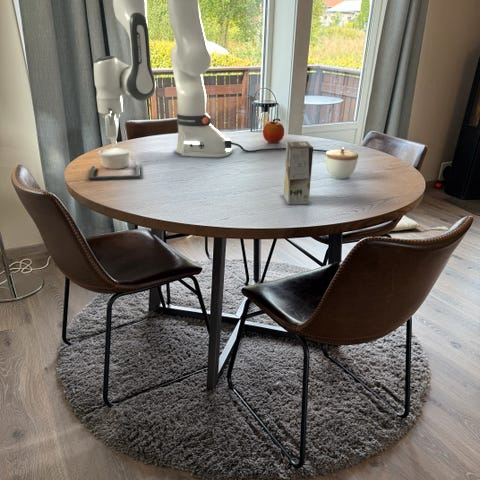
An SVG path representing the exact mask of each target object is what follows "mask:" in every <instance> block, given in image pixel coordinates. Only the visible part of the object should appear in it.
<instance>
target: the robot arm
mask: <svg viewBox="0 0 480 480" xmlns="http://www.w3.org/2000/svg"><path fill="white" fill-rule="evenodd" d="M166 4H167V11H168V18H169V25H170V27H171V30H172V32H173V37H174V39H175V44H174V45H173V46H172V48H171V50H170V61H171V65H172V72H173V73H172V74H173V78H174V84H175V89H176V102H177V103H176V104H177V113H176V123H177V124H176V125H177V143H176V148H175V152H176V153H177V154H179V155H181V156H182V157H195V158H196V157H197V158H198V157H199V158H224V157H226V156H229V155H231V153H232V146H236V147H239V148H240V149H241V150H242V151H243V152H245V153H256V152H267V151H286V147H271V148H259V149H251V150H248V149H245V148H244V147H243V146H242V145H241V144H239V143H236V142H232V140H231V139H230V138H229V137H225V135H224V134H223V133H221V132H220V131H219V130H218V129H217V128H216V127H214V125H212V121H211V120H212V119H213V116H212V115H209V114H208V113H207V94H206V93H207V92H206V88H205V85H204V79H203V75H204V74H205V73H207V72H208V70H209V69H210V67H211V64H212V55H211V52H210V51H209V48H208V44H207V43H208V42H207V39H206V36H205V32H204V27H203V23H202V18H201V10H200V2H199V0H166ZM112 7H113V11H114V17H115V18H116V20H117V21H118V22H119V24H121V26H122V27H123V29H124V30H125V31H126V34H127V36H128V39H129V45H130V46H129V47H130V58H131V59H130V60H131V65H129V64H126V63H125V62H123V61H121V60H119V59H118V58H117V57H116V56H114V55H105V56H100V57H98V58H96V59H95V61H94V63H93V80H94V86H95V89H96V96H95V97H96V106H97V112H98V114H101V116H102V118H103V119H104V127H105V135H106V138H107V140H110V143H111V148H118V143H117V139H118V134H119V127H120V118H121V115H120V114H122V113H124V108H123V95H127V96H128V97H132V98H133V99H135V100H137V101H140V102H145V101H149V99H151V98H152V97H153V96H154V95H155V92H156V90H157V89H156V88H157V82H156V78H155V76H154V72H153V70H152V63H151V51H150V48H151V47H150V37H149V26H148V18H147V0H112ZM328 151H329V150H327V149H317V148H313V152H318V153H319V152H320V153H326V152H328Z"/></svg>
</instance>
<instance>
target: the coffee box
mask: <svg viewBox="0 0 480 480" xmlns="http://www.w3.org/2000/svg"><path fill="white" fill-rule="evenodd" d="M285 148H286V150H285V169H284V185H283V186H284V188H283V197H284V199H285V201H286V204H287V205H308V204H309V202H310V192H311V179H312V167H313V158H314V157H313V155H314V151H313V149H314V147H313V146H312V144H310V143H309V142H308V141H307V140H293V141H286V147H285Z"/></svg>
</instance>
